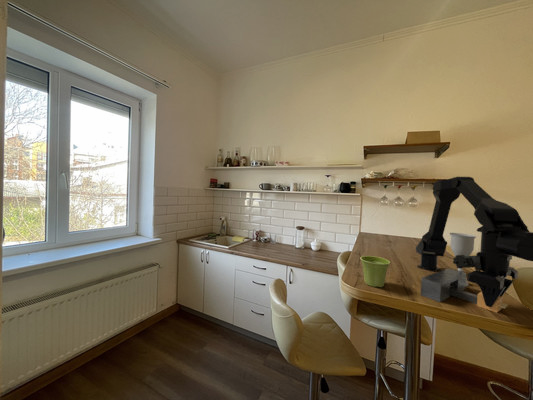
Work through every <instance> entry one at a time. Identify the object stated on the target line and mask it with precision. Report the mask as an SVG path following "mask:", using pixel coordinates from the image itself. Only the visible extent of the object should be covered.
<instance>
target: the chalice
mask: <svg viewBox="0 0 533 400" xmlns="http://www.w3.org/2000/svg"><path fill="white" fill-rule="evenodd" d="M449 235H450V248H451V252H452V253H453V256H454V257H455V256H456V255H465V256H472V254H473V252H474V250H475V249H474V248H475V239H476V238H477V235H473V234H468V233H462V232H461V233H460V232H449ZM456 271H460V272H464V268H457V269H456ZM467 286H470V284H469V281H467V278H466V285H465V287H467Z"/></svg>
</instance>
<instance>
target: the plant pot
mask: <svg viewBox="0 0 533 400" xmlns="http://www.w3.org/2000/svg"><path fill="white" fill-rule="evenodd" d="M360 260H361V265H362V270H363V280H364V283H365V284H366V285H368V286H370V287H374V288H375V287H379V288H383V287H384V286H385V283H386V280H385V279H386V278H387V271H388V268H389V266H390V264H391V261H390V260H388V259H386V258H383V257H379V256H373V255H372V256H371V255H363V256H360Z"/></svg>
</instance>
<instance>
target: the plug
mask: <svg viewBox="0 0 533 400" xmlns="http://www.w3.org/2000/svg"><path fill="white" fill-rule="evenodd" d="M449 296H452V297H454V298H455V297H456V298H458V299H461V300H463V301H467V302H469V303H473V304H475V305H476V306H477V307H479V308H482V309H485V310H489V311H491V312H494V313H496V314H498V312H500V311H501V310H502V309H506V308H507V307H508V304H507V303H503V296H499V297H498V299H497V300H496V302H495V303H494V304H493V306H492V307H488V306H486V304H485V301H484V298H483V294H482V291H479V293H477V294H476V293H471V292H468V291H465V290H459V289H456V288H453V287H450V294H449Z"/></svg>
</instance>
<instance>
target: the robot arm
mask: <svg viewBox="0 0 533 400" xmlns="http://www.w3.org/2000/svg"><path fill="white" fill-rule="evenodd" d="M432 194H433V197H434V198H435V203H434V208H433V211H432V215H431V220H430V224H429V228H428V231H427V232H426V233H424V234H423V235H422V237H421V239H420V241H419V243H418V244H417V245H416V247H415V251H416V253H417V254H418V255H420V264H417V266H416V267H417V268H421V269H424V270H428V271H432V272H436V271H437V272H438V271H440V270H441V267H438V257H444V255H445V252H446V251H447V245H448V241H447V240H446V239H445V237H444V232H445V229H446V225H447V221H448V217H449V213H450V211H451V207H452V204H453V202H456V200H458V198H459V197H460V195H462V196H463V197H464V198H465V199H466V201H468V203H469V204H470V205H471V206H472V207H473V208H474V212H473V215H474V217H475V218H476V220H477V222H478V223H479V224H480V225H481V226H480V227H477V229H476V232H478V233H481V236H480V250H479V251H478V252H476V255H470V256H465V255H456V256H455V255H454V257H453V258H452V259H453V261H452V263H453V264H454V265H455V266H456V268H457V269H458V268H462V269H465V268H474V270H473V271H471V272H469V273H467V274H466V279H467V281H468V283H469V282H470V283H473V284H476V285H477V286H479V288H480V290H481V291H480V292H482V294H483V298H484V301H485V304H486V306H488V307H492V306H493V304H494V303H495V302H496V300H497V299H498V297H499V296H502V297H503V295H505V293H506V292H507V291H508V290H509V288H510V287H511V286H512V285H513V283H514V282H515V281H514V280H516V279H517V278H518V277H519V275H518V274H519V270H517V269H515V268H514V267H513V266H510V265H511V263H510V261H512V260H513V257H514V258H519V259H521V260H525V261H529V262H533V232H532V231H530V230H529V228H528V226H527V225H526V223H525V222H524V220H523V219H522V217H521V215H520V212H519V211H518V210H516V208H514V207H513V206H511V205H509V204H508V203H505V202H502V201H499V200H496V199H494V198H493V196H491V195H490V194H488V192H487V191H486V190H485V189H483V187H481V186H480V185H479V184H478V183H477V182H476V181H475V179H474V177H471V176H456V177H455V176H453V177H451V178H447V179H438V180H436V181H435V182H434V183H433V186H432ZM508 276H509V277H511V279H509V278H507V277H508ZM512 279H514V280H512Z"/></svg>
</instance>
